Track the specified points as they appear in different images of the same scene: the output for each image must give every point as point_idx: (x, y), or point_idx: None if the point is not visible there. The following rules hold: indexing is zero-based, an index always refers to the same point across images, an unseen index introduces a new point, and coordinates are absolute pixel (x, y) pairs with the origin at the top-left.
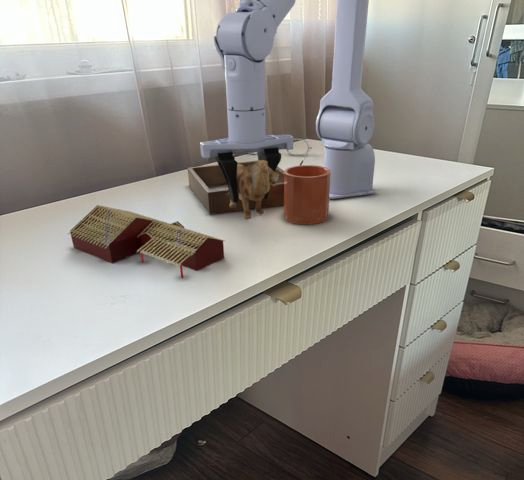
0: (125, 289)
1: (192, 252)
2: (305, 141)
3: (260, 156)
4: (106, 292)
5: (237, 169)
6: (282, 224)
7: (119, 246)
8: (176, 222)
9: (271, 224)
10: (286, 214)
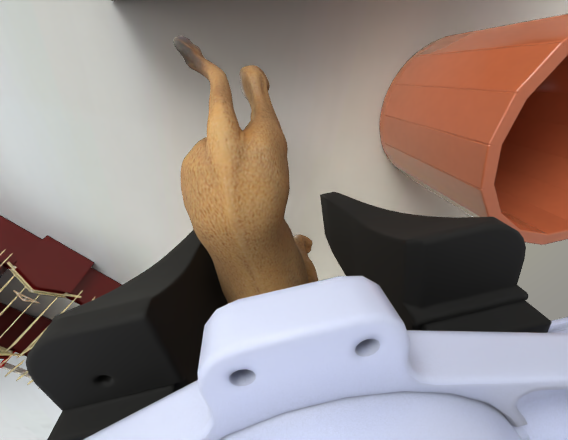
0: (39, 413)
1: None
2: None
3: (395, 293)
4: (9, 420)
5: (232, 264)
6: (359, 162)
7: None
8: (34, 288)
9: (329, 157)
10: (387, 139)
